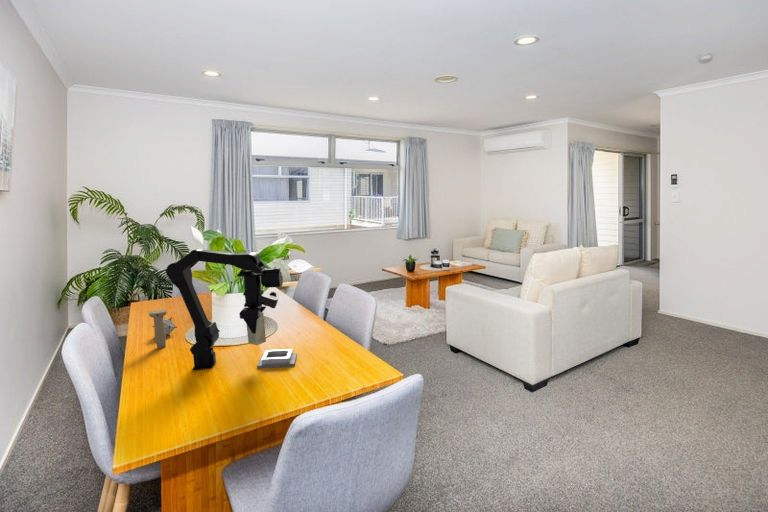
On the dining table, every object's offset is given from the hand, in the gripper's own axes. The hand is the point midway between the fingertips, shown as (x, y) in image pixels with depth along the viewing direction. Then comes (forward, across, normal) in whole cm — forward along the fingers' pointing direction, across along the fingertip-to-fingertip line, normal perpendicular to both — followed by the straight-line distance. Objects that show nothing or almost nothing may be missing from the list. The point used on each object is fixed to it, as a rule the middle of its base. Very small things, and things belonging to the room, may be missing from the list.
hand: (256, 330), depth 152 cm
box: (+5, 0, 0) cm, 5 cm away
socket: (+13, +1, -7) cm, 15 cm away
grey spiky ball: (+13, +39, +48) cm, 63 cm away
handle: (+13, +24, +44) cm, 51 cm away
